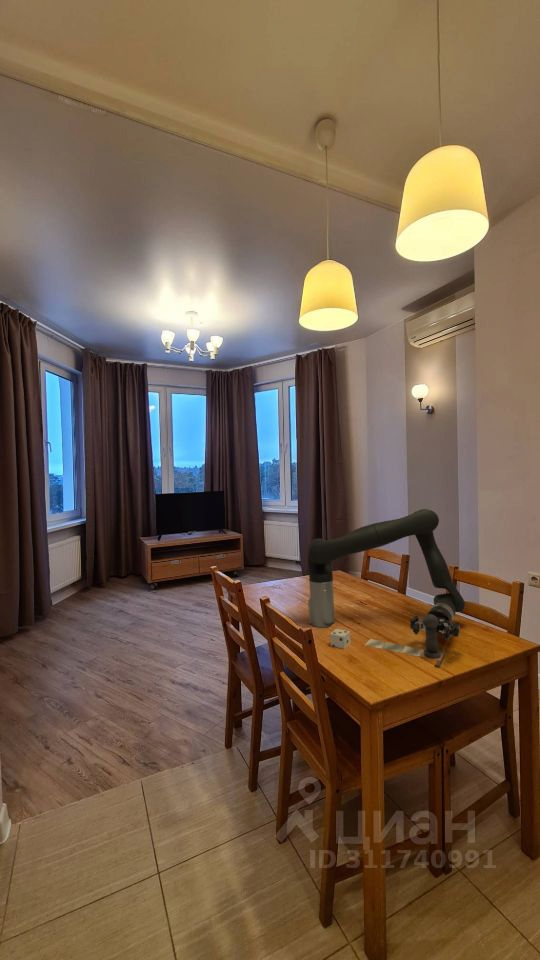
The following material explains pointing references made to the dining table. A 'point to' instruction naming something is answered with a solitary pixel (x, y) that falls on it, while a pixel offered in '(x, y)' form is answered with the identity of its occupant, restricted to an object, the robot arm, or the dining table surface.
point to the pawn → (431, 636)
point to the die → (340, 638)
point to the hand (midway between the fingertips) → (429, 633)
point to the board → (404, 650)
